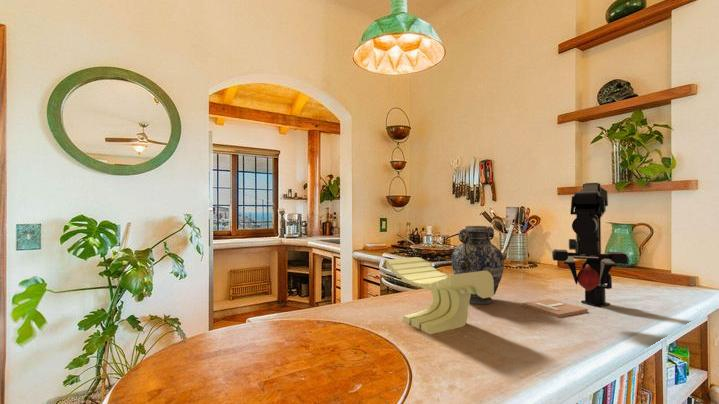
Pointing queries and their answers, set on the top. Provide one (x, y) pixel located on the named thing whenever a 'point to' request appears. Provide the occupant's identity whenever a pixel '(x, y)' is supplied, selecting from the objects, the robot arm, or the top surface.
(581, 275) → the onion
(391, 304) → the top surface
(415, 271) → the slatted curved stool
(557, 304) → the letter tile
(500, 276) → the decorative vase
